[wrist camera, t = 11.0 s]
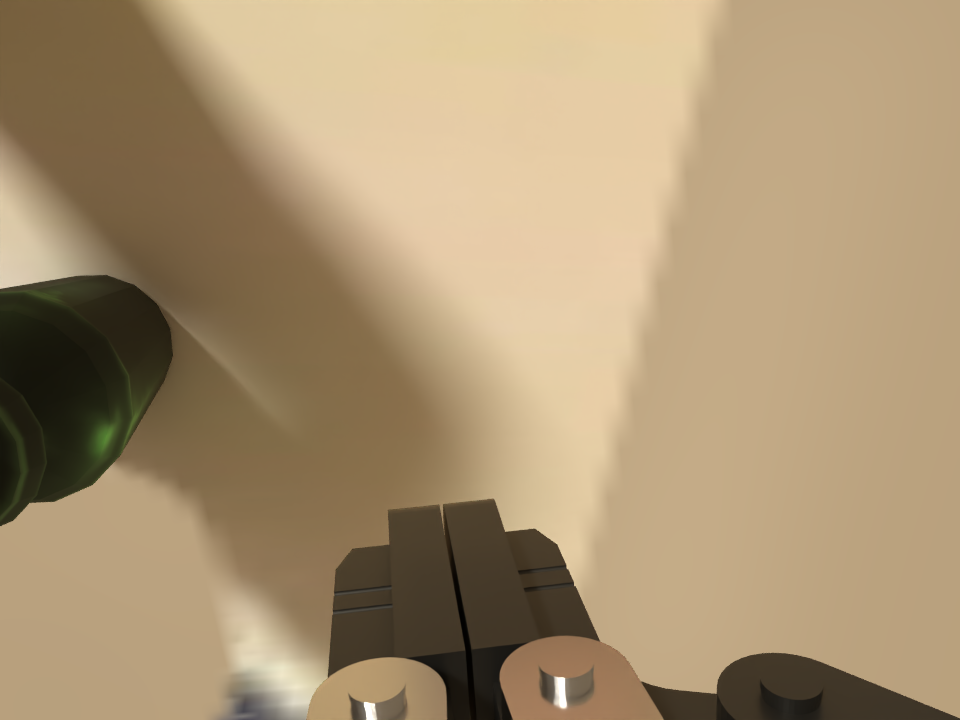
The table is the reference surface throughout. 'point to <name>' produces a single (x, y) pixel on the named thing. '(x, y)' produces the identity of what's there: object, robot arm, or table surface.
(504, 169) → the table surface
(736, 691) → the robot arm
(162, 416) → the table surface
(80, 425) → the potion bottle
